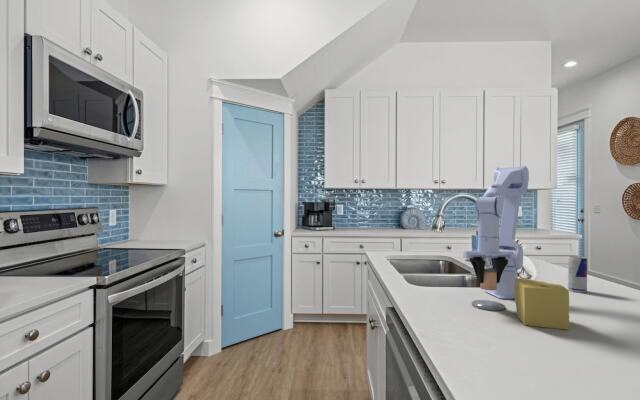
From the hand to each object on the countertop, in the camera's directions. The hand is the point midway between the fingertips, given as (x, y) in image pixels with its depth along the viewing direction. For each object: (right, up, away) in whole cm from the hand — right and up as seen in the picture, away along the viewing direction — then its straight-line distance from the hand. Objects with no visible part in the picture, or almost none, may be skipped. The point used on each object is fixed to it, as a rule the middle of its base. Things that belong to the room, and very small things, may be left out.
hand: (488, 282), depth 105 cm
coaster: (0, -7, 0) cm, 7 cm away
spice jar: (0, -2, 0) cm, 2 cm away
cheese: (+7, -7, -13) cm, 17 cm away
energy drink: (+41, -8, +19) cm, 46 cm away
